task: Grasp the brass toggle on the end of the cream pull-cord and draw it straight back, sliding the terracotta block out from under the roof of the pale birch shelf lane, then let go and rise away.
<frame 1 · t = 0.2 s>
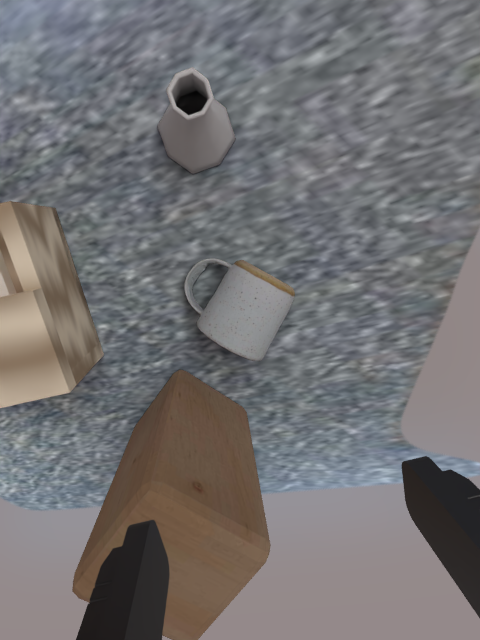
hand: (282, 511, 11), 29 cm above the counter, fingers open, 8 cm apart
ceramic mug: (232, 298, 39), on the counter
flask: (197, 133, 34), on the counter
wooden block: (191, 417, 42), on the counter
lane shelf: (29, 296, 37), on the counter
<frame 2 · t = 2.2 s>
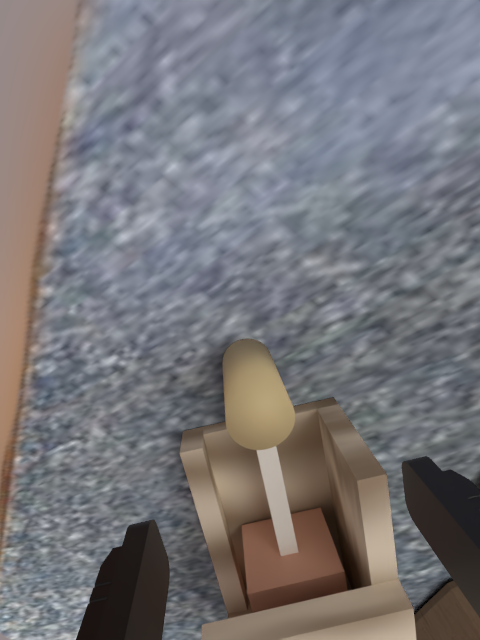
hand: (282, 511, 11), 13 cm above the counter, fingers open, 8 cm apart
pull block: (279, 507, 22), point 5 cm above the counter, slide at 0.0 cm
wooden block: (449, 626, 32), on the counter
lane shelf: (278, 503, 27), on the counter
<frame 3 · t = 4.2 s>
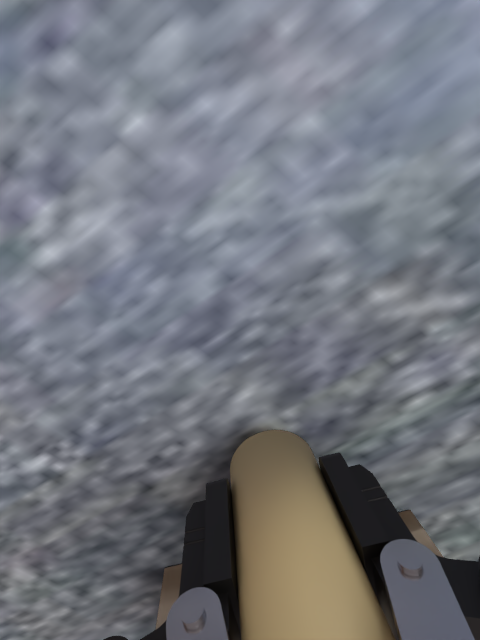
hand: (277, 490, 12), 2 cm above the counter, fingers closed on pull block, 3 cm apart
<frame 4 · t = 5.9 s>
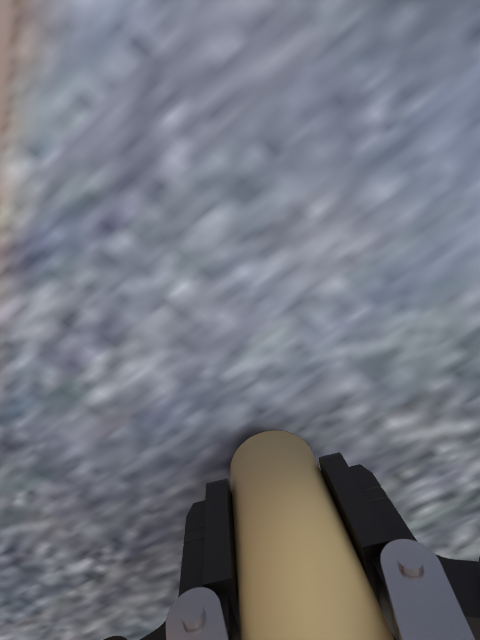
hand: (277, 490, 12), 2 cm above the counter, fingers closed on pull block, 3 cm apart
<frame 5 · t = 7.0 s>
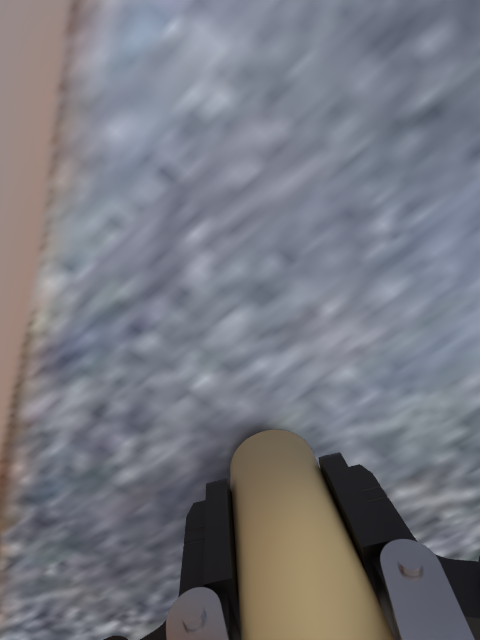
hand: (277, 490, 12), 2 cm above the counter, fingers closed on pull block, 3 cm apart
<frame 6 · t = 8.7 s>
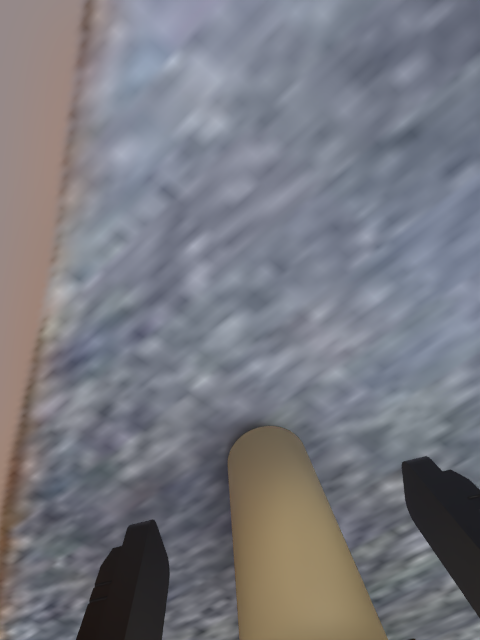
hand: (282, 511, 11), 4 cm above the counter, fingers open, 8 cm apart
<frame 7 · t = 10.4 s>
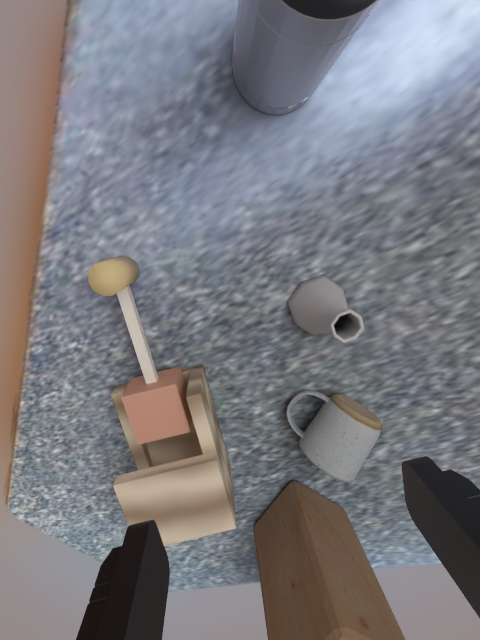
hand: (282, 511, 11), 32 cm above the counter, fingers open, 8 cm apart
ceramic mug: (321, 415, 47), on the counter
pull block: (140, 350, 38), point 5 cm above the counter, slide at 8.9 cm
flask: (317, 304, 43), on the counter
wooden block: (297, 514, 50), on the counter
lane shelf: (176, 430, 45), on the counter
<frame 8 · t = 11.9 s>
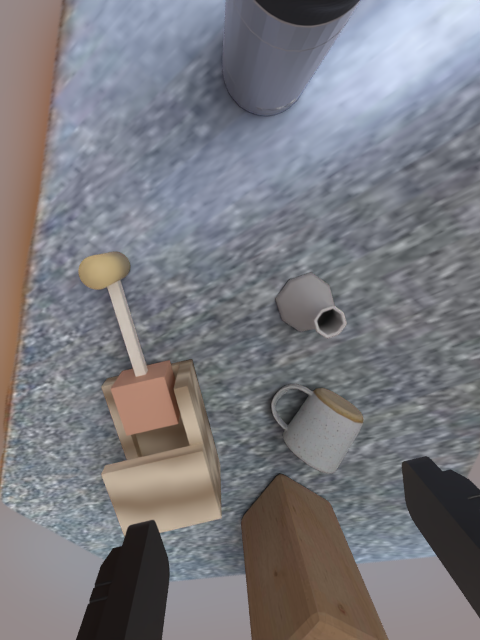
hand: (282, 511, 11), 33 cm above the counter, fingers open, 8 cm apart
ceramic mug: (306, 409, 48), on the counter
pull block: (130, 343, 39), point 4 cm above the counter, slide at 8.9 cm
flask: (304, 301, 44), on the counter
wooden block: (284, 507, 51), on the counter
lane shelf: (166, 423, 46), on the counter
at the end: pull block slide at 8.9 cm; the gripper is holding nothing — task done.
